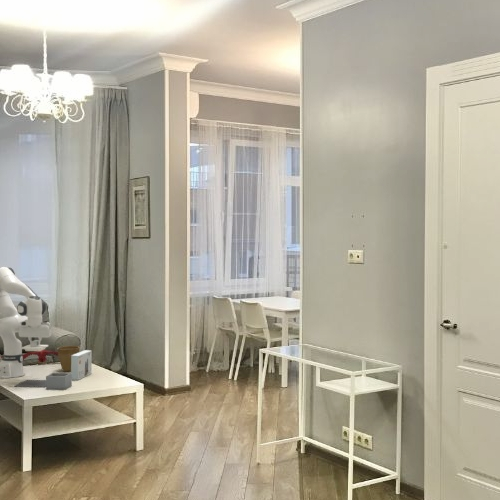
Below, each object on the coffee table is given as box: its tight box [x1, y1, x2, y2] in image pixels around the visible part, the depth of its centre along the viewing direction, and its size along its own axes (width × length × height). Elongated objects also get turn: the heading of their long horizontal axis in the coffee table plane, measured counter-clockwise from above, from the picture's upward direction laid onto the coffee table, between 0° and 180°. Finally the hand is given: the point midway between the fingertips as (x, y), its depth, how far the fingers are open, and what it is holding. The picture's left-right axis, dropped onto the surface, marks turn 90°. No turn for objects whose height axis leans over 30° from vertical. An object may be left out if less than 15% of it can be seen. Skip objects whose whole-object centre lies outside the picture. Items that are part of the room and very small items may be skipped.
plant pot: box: [56, 345, 81, 373], centre depth 480 cm, size 15×15×16 cm
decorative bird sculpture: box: [23, 349, 59, 365], centre depth 505 cm, size 28×9×15 cm
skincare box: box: [70, 349, 93, 381], centre depth 460 cm, size 21×5×16 cm, turn 168°
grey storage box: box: [45, 372, 73, 391], centre depth 429 cm, size 12×10×8 cm
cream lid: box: [22, 339, 49, 352], centre depth 439 cm, size 13×11×6 cm
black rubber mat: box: [13, 379, 46, 388], centre depth 440 cm, size 20×18×1 cm
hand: (35, 344), depth 439 cm, fingers closed on cream lid, 3 cm apart
